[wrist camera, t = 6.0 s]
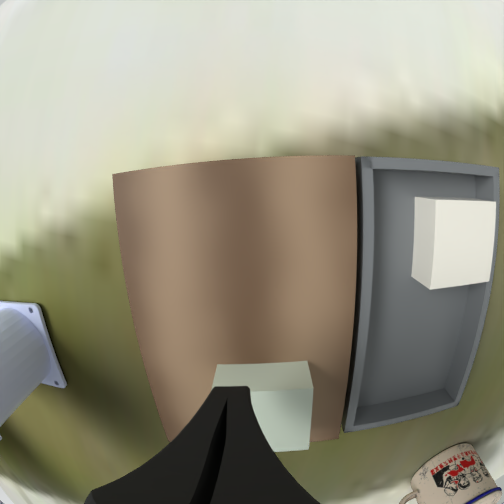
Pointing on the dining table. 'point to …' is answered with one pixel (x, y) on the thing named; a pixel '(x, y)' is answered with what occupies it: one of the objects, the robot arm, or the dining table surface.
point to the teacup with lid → (454, 479)
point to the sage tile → (276, 399)
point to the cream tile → (453, 241)
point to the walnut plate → (241, 275)
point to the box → (409, 296)
